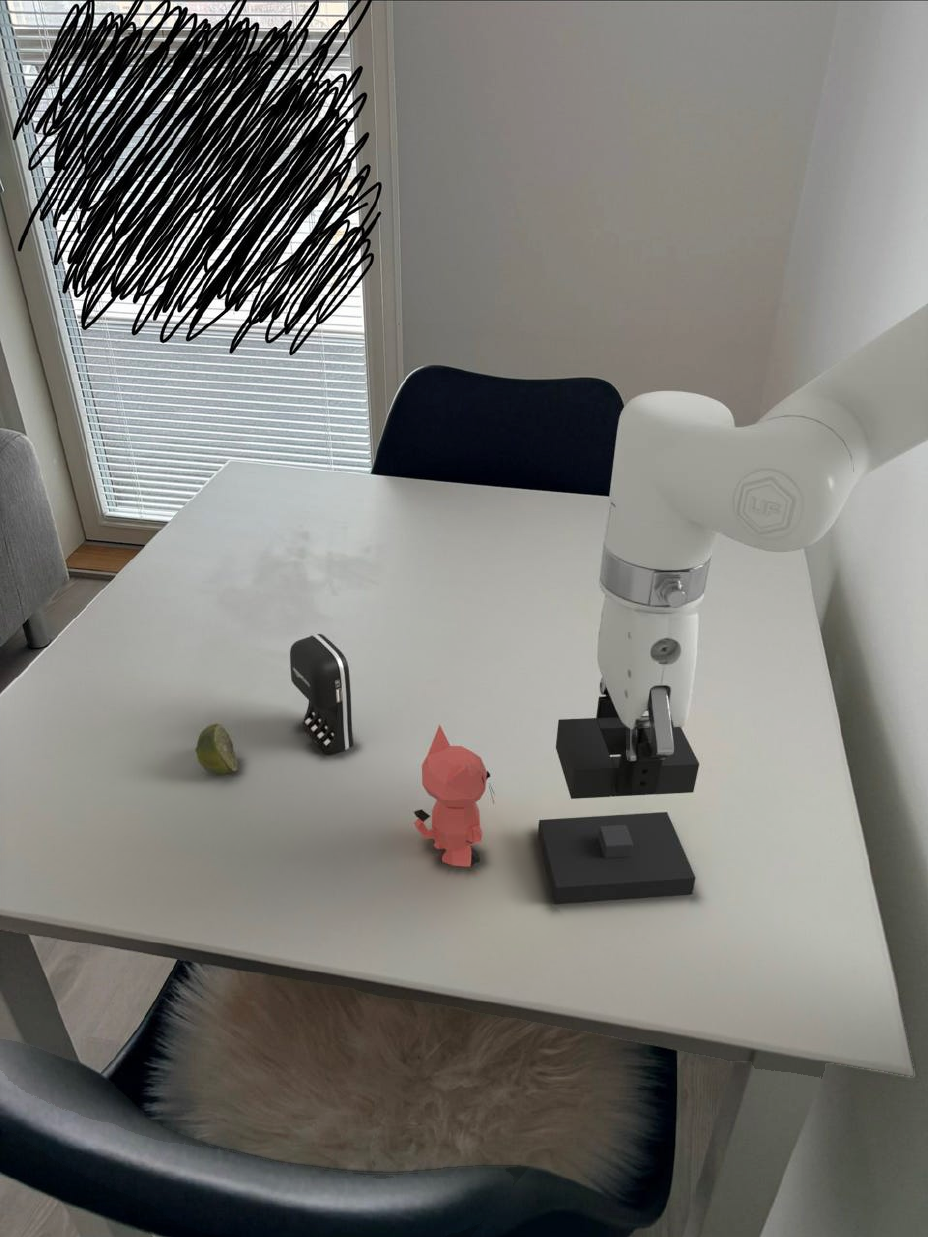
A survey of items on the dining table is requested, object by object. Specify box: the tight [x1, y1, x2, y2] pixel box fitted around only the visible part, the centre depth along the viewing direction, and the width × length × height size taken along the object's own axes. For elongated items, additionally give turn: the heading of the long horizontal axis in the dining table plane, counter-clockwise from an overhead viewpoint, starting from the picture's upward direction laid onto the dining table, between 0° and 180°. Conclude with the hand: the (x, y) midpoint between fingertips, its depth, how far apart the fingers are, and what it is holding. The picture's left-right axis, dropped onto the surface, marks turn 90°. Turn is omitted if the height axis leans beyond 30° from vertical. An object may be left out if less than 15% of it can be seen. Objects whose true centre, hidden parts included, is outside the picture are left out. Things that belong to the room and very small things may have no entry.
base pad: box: [537, 811, 696, 905], centre depth 77 cm, size 12×8×4 cm, turn 96°
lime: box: [195, 723, 238, 774], centre depth 86 cm, size 4×5×5 cm
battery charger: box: [289, 633, 354, 754], centre depth 89 cm, size 7×4×11 cm, turn 36°
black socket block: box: [555, 715, 700, 800], centre depth 72 cm, size 10×6×3 cm, turn 96°
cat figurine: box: [413, 724, 495, 868], centre depth 76 cm, size 7×7×12 cm
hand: (624, 761), depth 72 cm, fingers closed on black socket block, 6 cm apart
